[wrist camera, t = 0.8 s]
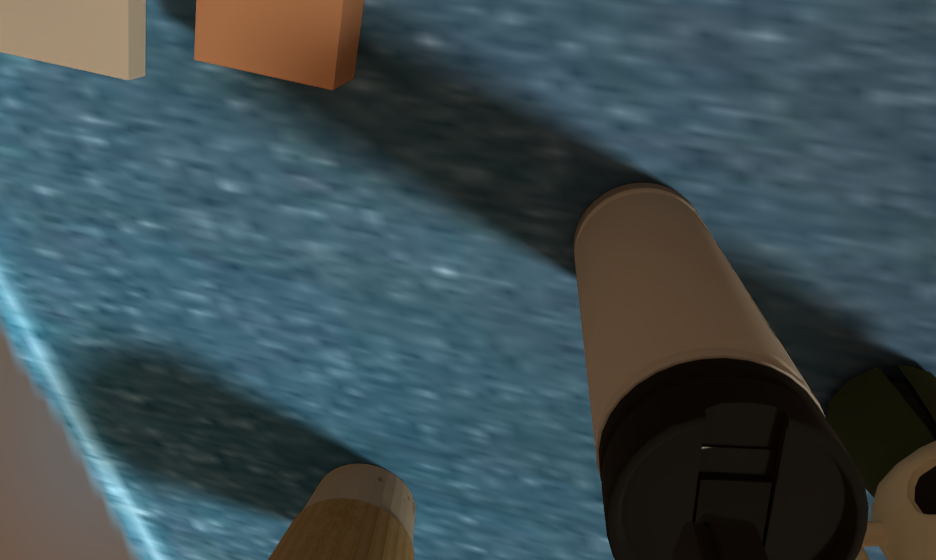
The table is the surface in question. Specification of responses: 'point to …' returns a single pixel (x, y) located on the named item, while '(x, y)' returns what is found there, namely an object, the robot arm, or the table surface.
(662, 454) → the travel mug
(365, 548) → the coffee cup
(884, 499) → the character mug
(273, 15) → the shelf board
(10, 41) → the peg base
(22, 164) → the table surface
